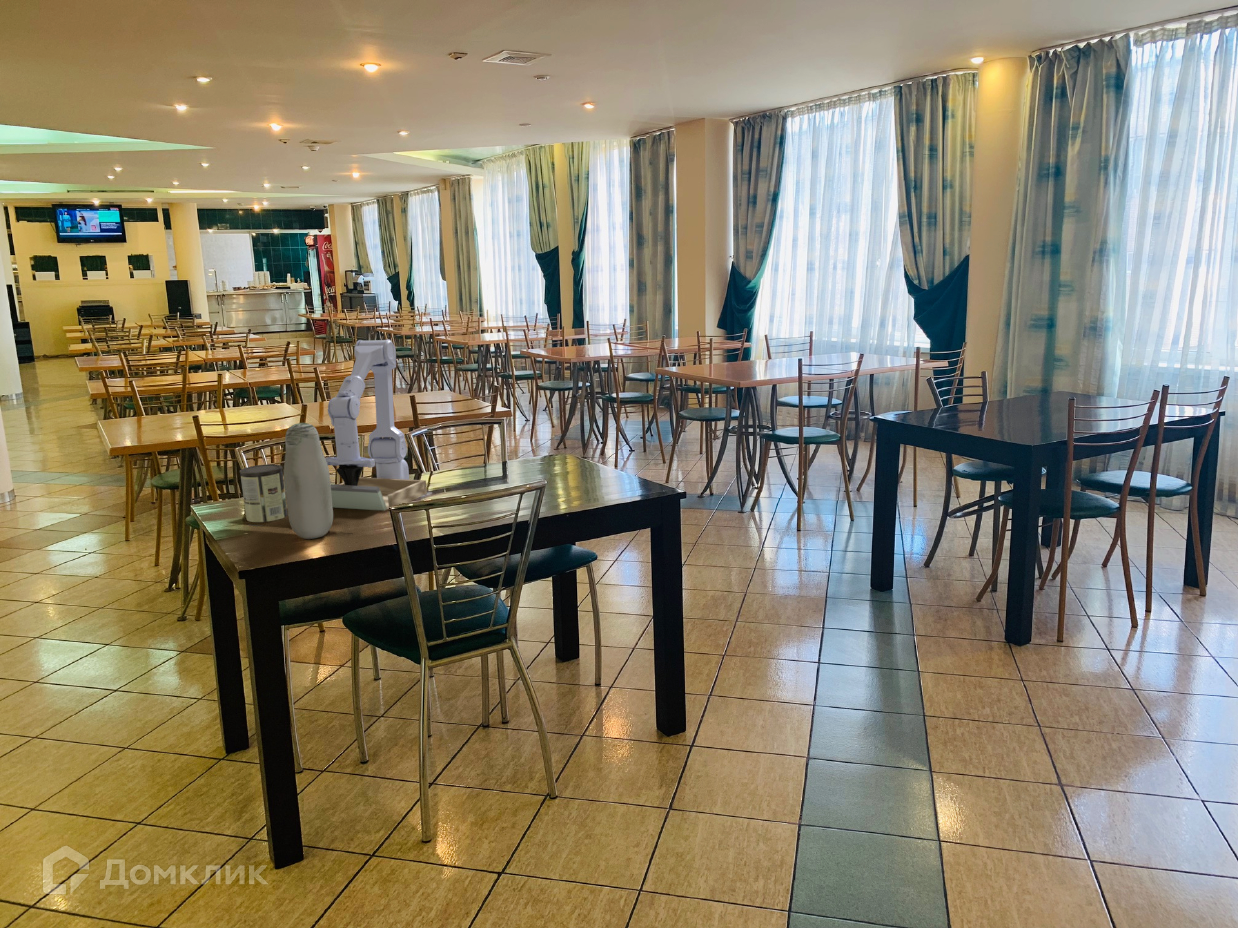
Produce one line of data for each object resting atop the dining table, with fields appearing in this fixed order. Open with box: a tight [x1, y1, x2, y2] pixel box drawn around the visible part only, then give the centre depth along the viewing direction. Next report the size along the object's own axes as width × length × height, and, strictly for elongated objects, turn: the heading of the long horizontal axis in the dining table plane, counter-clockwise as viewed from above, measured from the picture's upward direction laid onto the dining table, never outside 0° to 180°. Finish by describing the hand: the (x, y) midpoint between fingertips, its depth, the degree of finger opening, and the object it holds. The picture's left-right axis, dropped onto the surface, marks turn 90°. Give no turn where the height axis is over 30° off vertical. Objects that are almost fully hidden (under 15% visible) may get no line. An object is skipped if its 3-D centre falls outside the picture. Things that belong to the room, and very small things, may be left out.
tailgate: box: [331, 483, 388, 511], centre depth 235 cm, size 1×19×7 cm, turn 72°
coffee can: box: [239, 463, 288, 527], centre depth 230 cm, size 10×10×14 cm
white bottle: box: [283, 422, 334, 540], centre depth 212 cm, size 10×10×28 cm
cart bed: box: [337, 476, 428, 510], centre depth 246 cm, size 17×22×5 cm
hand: (352, 492), depth 236 cm, fingers closed, pressing on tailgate
